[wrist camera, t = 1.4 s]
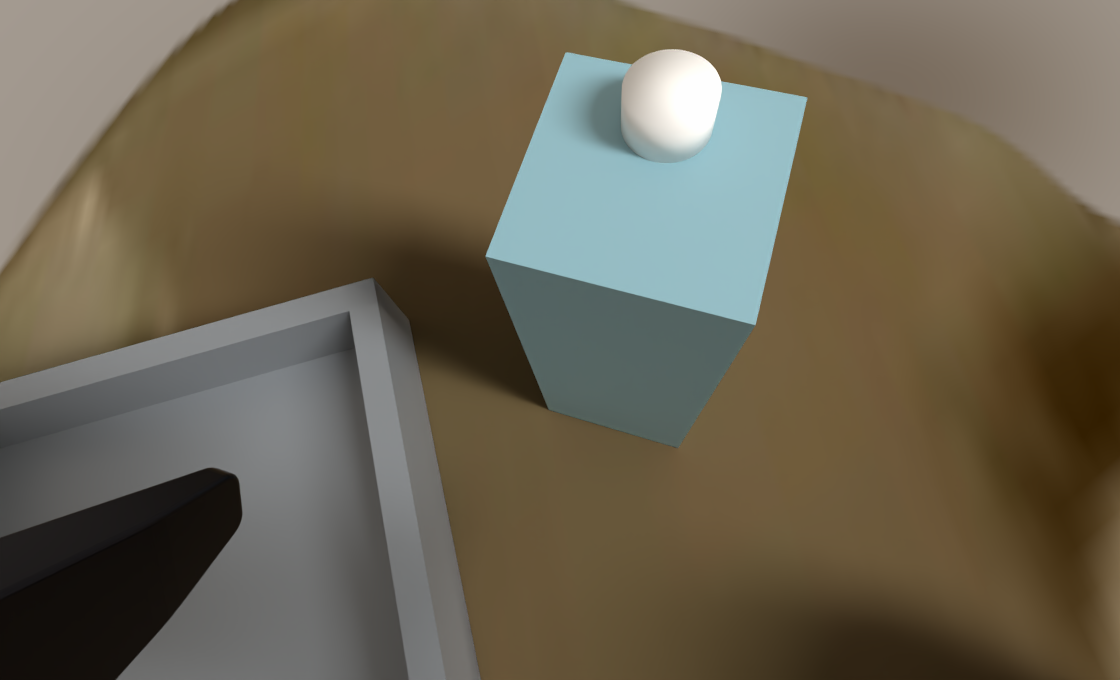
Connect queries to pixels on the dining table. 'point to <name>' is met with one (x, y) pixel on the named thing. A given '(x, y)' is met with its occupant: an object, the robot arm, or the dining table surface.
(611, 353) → the carton
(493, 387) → the dining table surface
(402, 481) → the gray square tray
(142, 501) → the robot arm
